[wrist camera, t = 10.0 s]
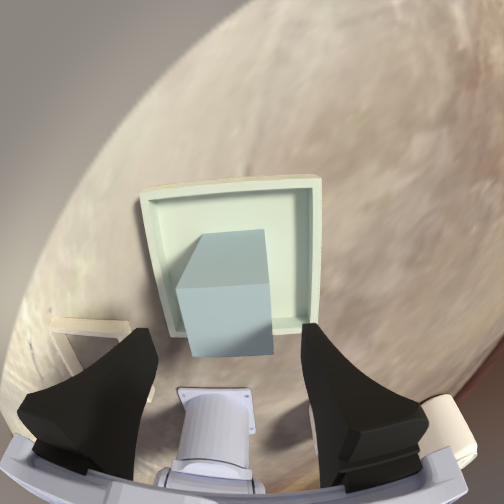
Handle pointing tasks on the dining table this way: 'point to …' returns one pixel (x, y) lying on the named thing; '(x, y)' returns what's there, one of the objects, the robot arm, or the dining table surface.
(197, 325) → the block
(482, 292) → the dining table surface
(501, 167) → the dining table surface
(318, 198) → the tray
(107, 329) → the holder
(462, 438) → the beverage can
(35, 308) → the dining table surface
